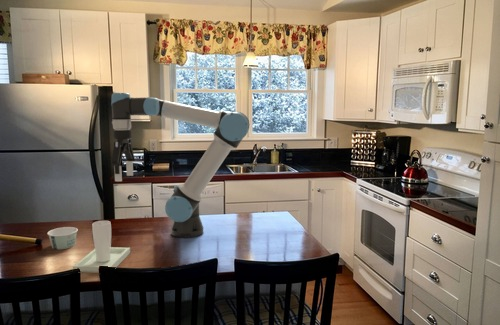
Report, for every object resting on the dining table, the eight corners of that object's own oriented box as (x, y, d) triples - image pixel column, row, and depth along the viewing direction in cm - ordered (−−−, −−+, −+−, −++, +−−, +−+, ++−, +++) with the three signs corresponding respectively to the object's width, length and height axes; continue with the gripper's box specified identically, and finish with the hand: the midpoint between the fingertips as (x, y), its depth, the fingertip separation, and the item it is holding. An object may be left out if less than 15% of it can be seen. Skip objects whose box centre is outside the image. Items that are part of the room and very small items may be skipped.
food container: (67, 251, 166) (66, 236, 165) (42, 249, 168) (40, 234, 167) (84, 241, 178) (83, 227, 177) (60, 240, 180) (59, 226, 179)
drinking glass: (106, 264, 151) (104, 226, 148) (90, 263, 152) (88, 225, 150) (116, 257, 157) (114, 220, 155) (100, 256, 158) (98, 219, 156)
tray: (130, 252, 164) (130, 247, 164) (110, 273, 144) (110, 267, 144) (97, 252, 165) (96, 247, 165) (73, 272, 145) (72, 266, 145)
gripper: (124, 127, 183) (126, 173, 186) (101, 131, 158) (104, 183, 161) (140, 127, 182) (142, 173, 185) (119, 131, 158) (122, 184, 161)
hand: (124, 178), depth 173 cm, fingers open, 13 cm apart
